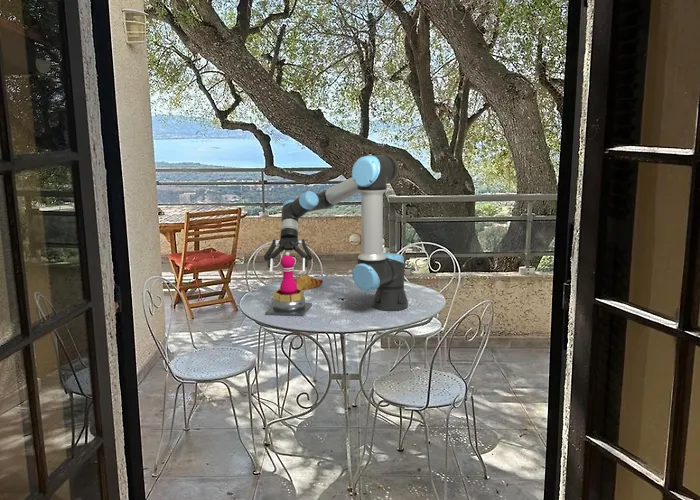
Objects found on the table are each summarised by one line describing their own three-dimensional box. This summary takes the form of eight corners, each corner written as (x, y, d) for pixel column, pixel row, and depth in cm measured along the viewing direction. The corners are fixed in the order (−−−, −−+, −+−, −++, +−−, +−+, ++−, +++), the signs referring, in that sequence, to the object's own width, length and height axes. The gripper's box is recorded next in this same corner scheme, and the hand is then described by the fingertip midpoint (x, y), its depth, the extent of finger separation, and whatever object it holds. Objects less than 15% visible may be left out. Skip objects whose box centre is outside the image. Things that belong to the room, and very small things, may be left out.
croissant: (283, 299, 294) (285, 286, 289) (277, 285, 301) (279, 272, 296) (325, 292, 302) (327, 280, 297) (318, 279, 309) (320, 267, 304)
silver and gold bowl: (311, 305, 269) (311, 287, 267) (303, 316, 253) (302, 297, 252) (276, 304, 271) (275, 286, 270) (265, 315, 256) (264, 295, 254)
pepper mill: (294, 301, 257) (293, 253, 254) (278, 300, 259) (276, 253, 255) (299, 296, 264) (298, 250, 260) (283, 295, 266) (281, 250, 262)
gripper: (318, 236, 272) (317, 277, 260) (261, 237, 272) (258, 278, 260) (317, 226, 266) (316, 267, 254) (259, 227, 266) (256, 268, 254)
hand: (287, 273), depth 257 cm, fingers open, 13 cm apart
